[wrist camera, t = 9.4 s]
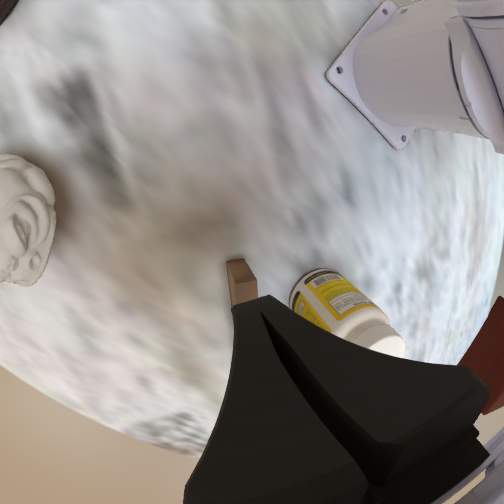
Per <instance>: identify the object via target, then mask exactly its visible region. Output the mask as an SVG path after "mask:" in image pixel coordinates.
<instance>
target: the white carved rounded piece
mask: <svg viewBox="0 0 504 504" xmlns="http://www.w3.org/2000/svg"><path fill="white" fill-rule="evenodd" d="M54 203H55V194H54V189H53V187H52V185H51V183H50V181H49V180H48V179H47V176H46V174H45V172H44V171H43V170H42V169H41V168H39V167H36V166H35V165H33V164H31V163H29V162H27V161H26V160H24V159H23V158H22V157H20V156H18V155H15V154H9V153H4V154H0V282H3V281H6V282H9V283H10V282H13V283H14V284H18V285H21V286H31V285H33V284H35V283H36V282H37V281H38V279H39V278H40V277H41V276H42V274H43V272H44V270H45V267H46V264H47V262H48V259H49V256H50V252H51V246H52V242H53V238H54V234H55V228H56V221H57V219H56V212H55V210H53V209H54Z"/></svg>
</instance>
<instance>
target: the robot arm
mask: <svg viewBox="0 0 504 504" xmlns="http://www.w3.org/2000/svg"><path fill="white" fill-rule="evenodd" d="M383 11H384V13H385V14H384V13H383ZM337 67H338V68H339V69H340V74H339V73H337V71H336V68H337ZM326 77H327V79H328V80H329V81H330V82H331V83H332V84H333V85H334V86H335V87H336V88H337V89H338V90H339V91H340V92H341V93H342V94H343V95H345V96H346V97H347V98H348V99H349V100H350V101H351V102H352V103H353V104H354V105H355V106H356V107H357V108H358V109H359V110H360V111H361V112H362V113H363V114H364V115H365V116H366V117H367V119H368V120H369V121H370V122H371V123H372V124H373V125H374V126H375V127H376V128H377V129H378V130H379V131H380V132H381V134H382V135H383V136H384V137H385V138H386V139H387V140H388V141H389V142H390V144H391V145H392V146H393V147H394V148H395V149H396V150H402V149H403V148H404V147H405V145H406V144H407V142H408V141H409V139H410V137H411V136H412V134H413V132H414V131H415V129H416V127H418V128H426V129H433V130H440V131H447V132H453V133H459V134H465V135H471V136H476V137H481V138H486V139H489V140H490V141H491V142H492V143H493V146H494V148H495V151H496V152H497V153H501V154H504V0H423V1H420V2H417V3H413V4H410V5H407V6H403V7H400V8H397V7H396V5H395V4H394V3H393V2H391V1H390V0H386V1H384V2H383V3H382V4H381V5H380V6H379V7H378V9H377V10H376V11H375V12H374V13H373V15H372V16H371V17H370V18H369V19H368V21H367V22H366V23H365V24H364V26H363V27H362V28H361V29H360V30H359V32H358V33H357V34H356V35H355V37H354V38H353V39H352V40H351V42H350V43H349V44H348V45H347V47H346V48H345V49H344V50H343V52H342V53H341V54H340V55H339V57H338V58H337V59H336V60H335V62H334V63H333V64H332V66H331V67H330V68H329V69H328V71H327V73H326ZM401 137H403V140H401ZM231 311H232V315H233V319H234V344H233V354H232V362H231V369H230V374H229V379H228V384H227V388H226V392H225V396H224V399H223V402H222V406H221V409H220V412H219V415H218V418H217V421H216V424H215V426H214V429H213V431H212V433H211V436H210V438H209V440H208V443H207V445H206V447H205V450H204V452H203V454H202V456H201V458H200V460H199V462H198V463H197V465H196V467H195V469H194V471H193V473H192V474H191V476H190V478H189V480H188V482H187V483H186V485H185V490H184V500H183V504H442V503H444V502H445V501H446V500H448V499H449V498H451V497H452V496H453V495H454V494H456V493H457V492H458V491H460V490H461V489H462V488H463V487H465V486H466V485H467V484H468V483H469V482H471V481H472V480H473V479H474V478H476V477H477V476H478V475H479V474H480V473H481V472H482V471H483V470H484V469H486V471H485V478H484V479H483V480H482V481H481V482H480V483H479V484H478V485H476V486H475V487H474V488H473V489H472V490H470V491H469V492H468V493H467V494H466V495H465V496H463V497H462V498H461V499H460V500H458V501H457V502H456V503H454V504H504V427H503V428H502V429H501V430H500V431H499V432H498V433H497V434H496V435H495V436H494V437H493V438H492V439H490V440H489V441H488V442H487V443H486V444H485V445H484V446H483V445H482V444H481V443H480V442H479V441H478V440H477V439H476V438H477V437H478V435H479V431H478V430H477V429H476V428H475V427H474V425H473V424H474V423H475V421H476V420H477V418H478V416H479V415H480V413H481V412H482V410H483V409H484V407H485V405H486V403H487V401H488V399H489V396H490V387H489V386H488V385H487V384H486V383H485V382H484V381H483V380H482V379H481V378H480V377H479V376H478V375H476V374H475V373H474V372H473V371H472V370H471V369H470V368H469V367H467V366H456V365H443V364H432V363H425V362H419V361H414V360H408V359H404V358H399V357H395V356H391V355H388V354H384V353H381V352H377V351H374V350H371V349H368V348H365V347H362V346H360V345H357V344H355V343H352V342H349V341H347V340H345V339H342V338H340V337H338V336H336V335H334V334H332V333H330V332H328V331H326V330H324V329H322V328H321V327H319V326H317V325H315V324H314V323H312V322H310V321H309V320H307V319H305V318H304V317H302V316H300V315H299V314H297V313H296V312H294V311H293V310H291V309H290V308H288V307H287V306H286V305H284V304H283V303H281V302H280V301H278V300H277V299H276V298H274V297H273V296H271V295H266V296H263V297H260V298H256V299H253V300H250V301H246V302H243V303H239V304H236V305H233V307H232V308H231Z"/></svg>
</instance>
